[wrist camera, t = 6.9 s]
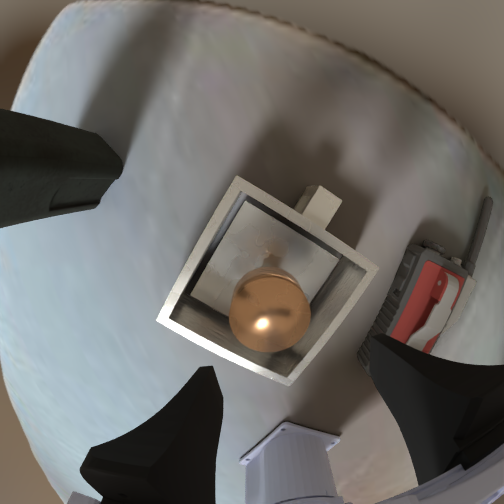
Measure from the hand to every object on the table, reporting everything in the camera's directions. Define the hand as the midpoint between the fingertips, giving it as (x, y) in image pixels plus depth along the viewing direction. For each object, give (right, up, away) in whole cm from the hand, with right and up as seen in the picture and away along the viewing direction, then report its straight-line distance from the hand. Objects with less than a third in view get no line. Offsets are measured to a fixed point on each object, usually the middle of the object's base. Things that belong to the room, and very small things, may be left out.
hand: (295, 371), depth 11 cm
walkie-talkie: (+14, +3, +10) cm, 17 cm away
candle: (-15, +12, +7) cm, 20 cm away
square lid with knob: (-1, +4, +9) cm, 10 cm away
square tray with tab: (-1, +4, +9) cm, 10 cm away
